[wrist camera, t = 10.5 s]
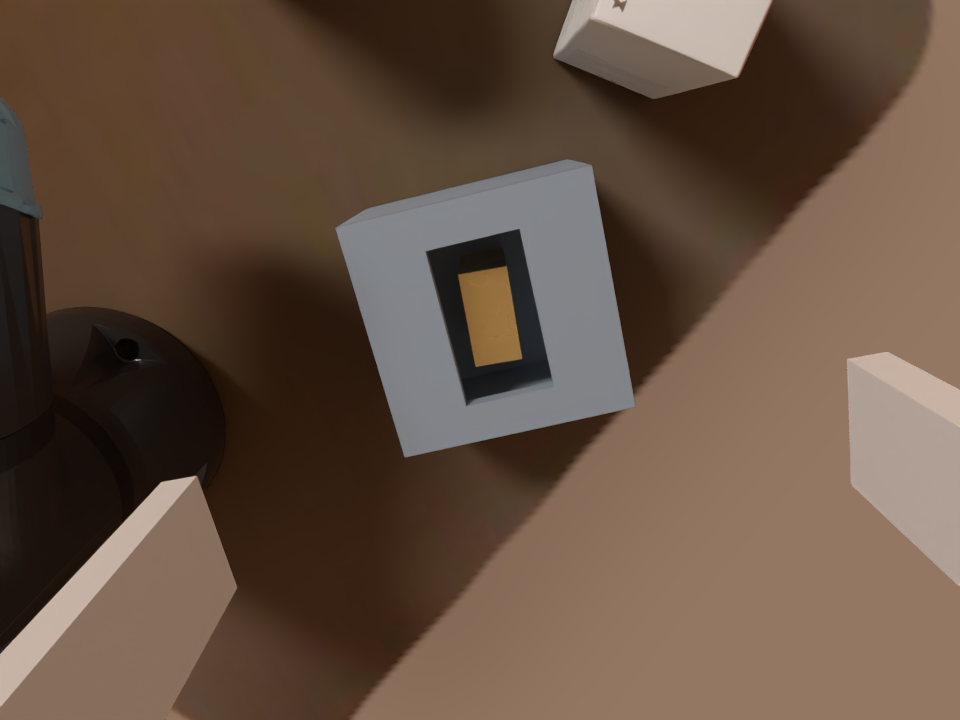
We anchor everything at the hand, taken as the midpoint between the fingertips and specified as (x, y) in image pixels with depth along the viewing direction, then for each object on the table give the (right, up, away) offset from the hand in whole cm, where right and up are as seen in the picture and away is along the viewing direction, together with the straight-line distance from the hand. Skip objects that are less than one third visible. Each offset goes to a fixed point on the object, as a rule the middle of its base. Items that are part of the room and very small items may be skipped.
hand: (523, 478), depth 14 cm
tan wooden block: (0, +6, +27) cm, 28 cm away
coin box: (0, +7, +28) cm, 29 cm away
